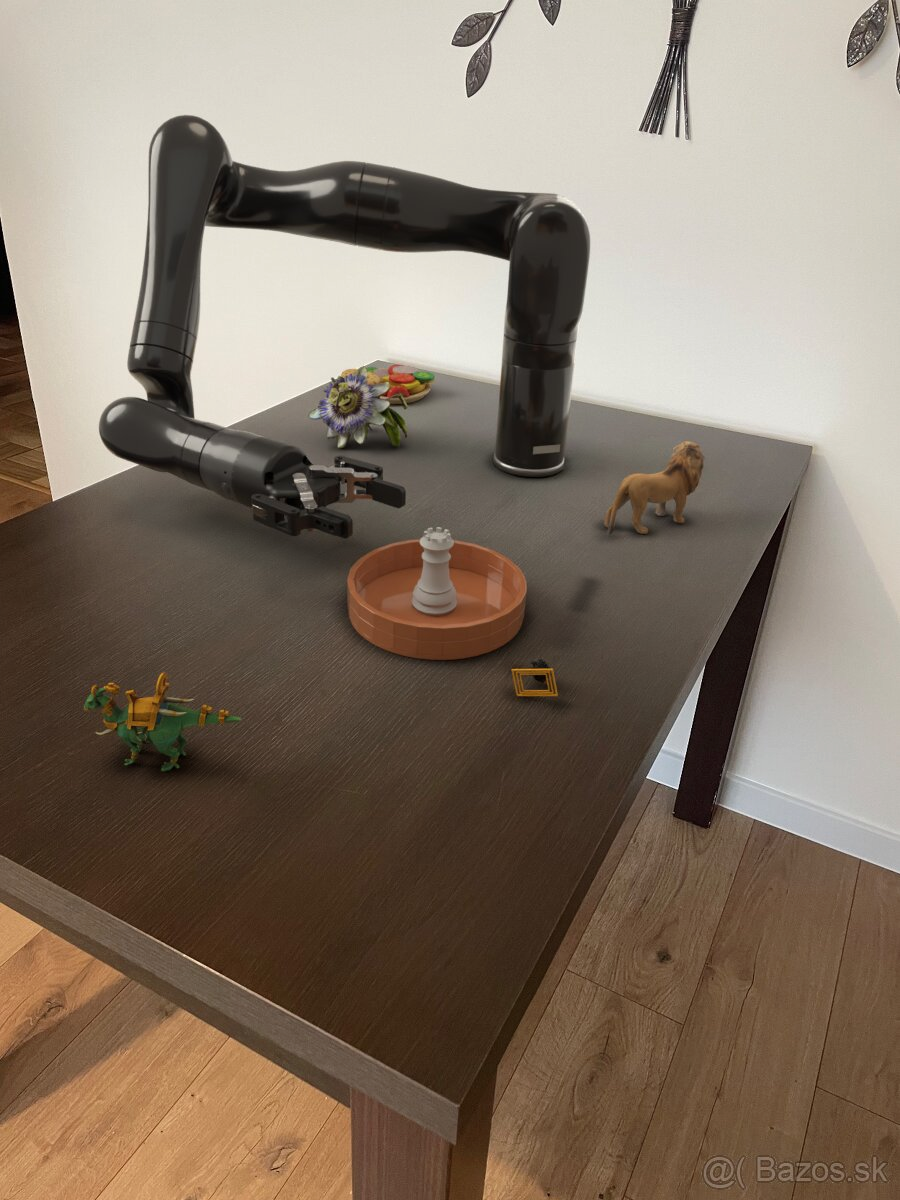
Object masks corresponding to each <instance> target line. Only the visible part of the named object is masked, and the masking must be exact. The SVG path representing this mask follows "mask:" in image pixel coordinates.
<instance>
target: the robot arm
mask: <svg viewBox="0 0 900 1200" xmlns="http://www.w3.org/2000/svg"><path fill="white" fill-rule="evenodd" d="M147 172H148V178H147V179H148V190H147V191H148V197H147V198H148V201H147V202H148V203H147V204H148V206H147V223H146V224H147V225H146V236H145V237H146V239H145V246H144V247H145V248H144V256H143V265H142V273H141V281H140V288H139V292H138V293H139V294H138V298H137V304H136V310H135V316H134V320H133V324H132V325H133V326H132V331H131V336H130V342H129V348H128V354H127V362H126V363H127V371H128V373H129V374H130V376H131V377H132V378H133V379H134V380H136V381H137V382H138V383H139V384H140V385H141V386H142V387H143V389H144V392H145V394H146V399H145V398H141V397H138V396H124V397H119V398H117V399H115V400H113V401H112V402H111V403H109V404H108V405H107V406H106V407H105V408H104V409H103V411H102V413H101V414H100V418H99V420H98V433H99V437H100V440H101V442H102V444H103V446H104V447H105V448H106V449H107V451H109V452H110V454H112V455H113V456H115V457H116V458H119V459H121V460H124V461H127V462H130V463H133V464H134V465H135V464H136V465H138V466H141V467H144V468H147V469H150V470H151V471H155V472H159V473H168V474H170V475H173V476H175V477H177V478H179V479H181V480H183V481H185V482H187V483H189V484H191V485H194V486H196V487H199V488H202V489H205V490H207V491H210V492H213V493H215V494H217V495H218V496H220V497H222V498H224V499H225V500H229V501H231V502H233V503H236V504H240V505H241V506H245V507H247V508H250V509H251V510H252V520H253V521H255V522H256V523H259V524H261V525H264V526H266V527H269V528H270V529H274V530H275V531H278V532H279V533H283V534H285V535H288V536H290V537H298V536H300V535H301V534H302V533H301V531H303V530H305V531H307V532H316V531H320V532H323V533H325V534H328V535H331V536H334V537H338V538H341V539H344V540H347V539H349V538H350V537H352V536H353V534H354V525H353V523H354V519H353V518H352V516H350V515H349V514H346V513H343V512H341V511H338V510H335V509H332V508H329V507H328V506H329V505H333V504H352V503H353V502H354V501H355V500H357V499H359V500H362V499H364V500H372V501H374V502H376V503H380V504H382V505H383V504H384V505H387V506H389V507H392V508H395V509H401V508H403V507H405V505H406V503H407V502H406V501H407V499H406V498H407V492H406V488H405V487H404V485H403V486H402V485H400V484H397V483H393V482H391V481H387V480H384V478H383V477H384V474H383V473H384V467H383V466H381V465H377V464H373V463H370V462H367V461H363V460H359V459H356V458H353V457H352V458H351V457H348V456H344V455H336V456H334V457H333V461H334V463H333V464H332V465H331V466H327V465H323V464H313V463H312V462H311V461H310V459H309V458H308V456H307V455H306V453H304V451H303V450H302V449H301V448H300V447H297V446H295V445H292V444H290V443H286V442H282V441H279V440H277V439H272V438H270V437H266V436H263V435H260V434H257V433H254V432H250V431H246V430H240V429H233V428H229V427H226V426H223V425H221V424H217V423H214V422H210V421H207V420H202V419H201V420H200V419H196V418H195V417H196V416H195V407H194V406H195V405H194V393H193V391H194V390H193V384H192V369H193V364H194V358H195V352H196V347H197V342H198V336H199V328H200V319H201V297H202V296H201V294H202V293H201V273H202V271H201V268H202V267H201V266H202V251H203V241H204V234H205V228H206V227H212V228H225V229H226V228H227V229H228V228H229V229H246V230H262V231H273V232H280V233H285V234H289V235H290V234H291V235H296V236H300V237H306V238H312V239H318V240H323V241H330V242H335V243H341V244H345V245H349V246H354V247H359V248H360V247H361V248H365V249H371V250H378V251H384V252H392V253H413V254H414V253H416V254H417V253H439V252H440V253H441V252H465V253H473V254H479V255H484V256H489V257H492V258H497V259H501V260H504V261H508V262H509V263H508V264H509V266H508V281H507V293H506V303H505V312H504V319H503V323H504V325H503V340H502V350H501V351H502V353H501V367H500V380H499V381H500V382H499V395H498V409H497V419H496V420H497V421H496V422H497V423H496V431H495V432H496V434H495V447H494V452H493V464H494V466H495V467H496V468H498V469H499V470H500V471H503V472H505V473H507V474H510V475H515V476H519V477H529V478H543V477H548V476H553V475H556V474H558V473H560V472H561V471H563V469H564V466H565V453H566V444H567V437H568V436H567V435H568V429H569V428H568V427H569V418H570V409H571V403H572V402H571V400H572V392H573V391H572V390H573V383H574V382H573V381H574V373H575V364H576V355H577V345H578V336H579V328H580V323H581V320H582V317H583V312H584V304H585V296H586V290H587V283H588V277H589V276H588V275H589V268H590V258H591V249H592V248H591V247H592V238H591V237H592V236H591V230H590V225H589V224H588V221H587V220H586V217H585V216H584V214H583V213H582V211H581V209H580V208H579V207H578V205H577V203H575V202H573V201H572V200H571V199H570V198H568V197H566V196H564V195H561V194H557V193H555V192H553V193H552V192H528V191H526V192H525V191H509V190H495V189H486V188H478V187H474V186H470V185H469V186H468V185H465V184H462V183H458V182H455V181H451V180H448V179H445V178H442V177H437V176H434V175H429V174H425V173H421V172H417V171H412V170H408V169H404V168H403V169H402V168H399V167H394V166H390V165H384V164H376V163H373V162H366V161H357V160H340V161H334V162H333V161H332V162H329V163H324V164H319V165H315V166H310V167H306V168H301V169H297V170H275V169H269V168H263V167H259V166H253V165H249V164H245V163H241V162H238V161H235V160H233V158H232V155H231V153H230V150H229V147H228V144H227V143H226V141H225V139H224V138H223V136H222V134H221V133H220V132H219V130H218V129H217V128H216V126H214V125H213V124H212V123H210V122H209V121H208V120H206V119H204V118H202V117H200V116H198V115H192V114H190V115H189V114H182V115H181V114H180V115H177V116H173V117H170V118H169V119H167V120H165V121H164V122H163V123H161V125H159V127H158V128H157V129H156V131H155V132H154V134H153V136H152V138H151V140H150V143H149V147H148V171H147ZM345 484H346V491H345V492H344V493H342V492H341V491H342V489H341V485H345ZM355 487H358V488H362V489H356V488H355ZM285 516H286V520H285Z"/></svg>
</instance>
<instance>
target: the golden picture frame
mask: <svg viewBox="0 0 900 1200" xmlns="http://www.w3.org/2000/svg"><path fill="white" fill-rule="evenodd" d="M529 665H531V666H529V667H528V668H511V674H512V680H513V684H514V690H515V694H516V697H558V696H559V694H558V688H557V683H556V677H555V673H554V668H551V667H550V666H549V665H551V662H548V663H546V659H545V660H544V658H543V659H542V658H538V660H537V661H536V660H533V659H532V660H531V661H530V663H529ZM518 674H519V675H518ZM522 676H528V677H532V679H533V680H534V681H535V682H537V683H538V684H541V685H544V684H546V685H547V689H541V690H540V689H539V690H538V689H529V690H528V689H524V685H523V684H524V683H523V679H522ZM552 681H553V682H552Z"/></svg>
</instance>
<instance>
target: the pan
mask: <svg viewBox="0 0 900 1200" xmlns="http://www.w3.org/2000/svg"><path fill="white" fill-rule="evenodd" d="M420 539H421V538H419V539H408V540H402V541H397V542H392V543H389V544H386V545H383V546H380V547H378V548H375V549H372V550H371V551H369V552H368V553H365V554H364V555H363V556H361V557H360V558H359V559H357V560H356V562H355V563H354V564H353V565H352V567H351V568H350V569H349V572H348V576H347V579H346V588H347V589H346V591H347V593H346V594H347V596H346V597H347V610H348V611H347V612H348V618H349V621H350V623H351V625H352V626H353V628H354V629H355V631H356V632H357V633H358V634H359V635H360V636H361V637H362V638H363V639H364V640H366V641H368V642H369V643H371V644H372V645H374V646H376V647H379V648H380V649H382V650H384V651H387V652H390V653H392V654H395V655H400V656H403V657H408V658H413V659H420V660H428V661H451V660H454V661H455V660H462V659H467V658H473V657H478V656H480V655H484V654H488V653H490V652H492V651H495V650H497V649H499V648H500V647H503V646H505V645H507V643H509V642H510V641H511V640H512V639H513V638H515V636H517V634H518V633H519V631H520V629H521V628H522V625H523V622H524V619H525V612H526V602H527V591H528V590H527V579H526V577H525V575H524V574H523V572H522V570H521V568H520V567H519V566H517V564H515V563H514V561H512V560H511V559H509V558H508V557H507V556H505V555H503V554H502V553H500V552H498V551H495V550H494V549H491V548H489V547H485V546H482V545H479V544H476V543H471V542H466V541H461V540H456V539H453V541H454V545H453V546H452V547H451V549H450V550H449V554H450V555H451V558H450V560H449V565H448V566H449V576H450V580H451V581H452V583H453V586H454V588H455V590H456V593H457V595H456V600H457V604H456V607H455V608H454V609H453V610H452V611H451V612H449V613H448V614H445V615H441V616H430V615H425V614H423V613H420V612H419V611H418V610H416V608H415V607H414V606H413V604H412V599H413V597H414V596H413V591H414V588H415V586H416V585H417V583H418V580H420V579H421V575H422V569H423V558H422V553H423V552H424V548H423V547H422V546H421V544H420Z"/></svg>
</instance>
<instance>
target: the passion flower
mask: <svg viewBox="0 0 900 1200" xmlns="http://www.w3.org/2000/svg"><path fill="white" fill-rule="evenodd" d="M366 368H367V367H365V366H364V365H362V366H360V367H359V368H357V369H358V370H357V372H356V373H355V374H353V376H352V374H349V376H347V375H346V377H345V378H344V377H343V376H341V375H338V376H337V378H336V379H335V378H334V377H330V380H331V381H332V382H330V383H329V385H326V389H323V392H324V393H325V398H323V399H320V400H319V401H318V405H317V407H316V408H315V409H313V410H311V411H309V412H308V414H307V417H308V418H309V419H311V420H315V421H317V420H321V419H322V421H323V423H324V424H325V425H326V426H327V431H326V439H327V440H330V439H337V448H338V449H344V448H345V447H346V446H347V445H348V444H349V441H350V437H351V436H353V437H354V438H353V439H354V441H355V442H356V443H357V444H359V445H362V444H364V443H365V442H366V440H367V438H368V429H369V430H370V431H373V429H372V427H371V426H370V425H373V426H378V427H379V426H380V427H381V426H382V427H383V429H384V431H385V434H386V435H387V437H388V439H389V442H390V443H391V445H392V446H394V447H396V448H399V447H400V445H401V440H402V439H401V431H402V433H403V434H404V438H405V439H408V437H409V435H408V429H407V427H408V426H407V425H406V421H405V420H404V418H403V417H402V415H400V414H399V413H398V412H397V411H396V410H394V409H392V408H390V407H391V404H390V403H389V402H388V401H386V400H388V399H390V398H393V397H395V396H398V395H399V396H398V398H399V399H400V400H401V402H402V403H403V404H402V407H403V410H407V409H408V407H409V406H408V403H406V402H405V400H404V398H403V397H402V394H401V393H400V394H397V395H394V396H392V397H389V398H386V399H384V400H383V399H381V398H380V396H381V395H382V394H384V393H385V392H386V391H388V389H389V386H390V385H389V383H388V382H385V383H378V384H375V385H370V384H369V385H370V386H369V385H367V383H368V382H367V381H366V380H367V369H366ZM366 382H367V383H366ZM400 430H401V431H400Z"/></svg>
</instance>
